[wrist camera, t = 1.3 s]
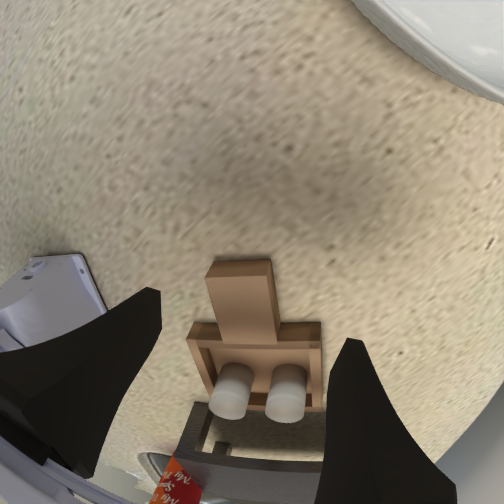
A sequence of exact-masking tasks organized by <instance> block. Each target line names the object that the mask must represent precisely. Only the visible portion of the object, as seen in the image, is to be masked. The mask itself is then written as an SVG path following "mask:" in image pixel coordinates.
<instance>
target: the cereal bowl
mask: <svg viewBox="0 0 504 504" xmlns="http://www.w3.org/2000/svg"><path fill="white" fill-rule="evenodd" d="M351 1H352V2H353V3H354V4H355V6H356V7H357V9H359V10H360V11H361V12H362V14H363V15H364V16H365V17H367V18H368V19H369V20H370V22H371V23H372V24H373V25H374V26H376V27H377V28H378V29H379V31H380V32H381V33H383V34H384V35H386V36H387V38H388V39H389V40H391V41H392V42H394V43H395V44H396V45H397V46H398V47H399V48H401V49H403V50H404V51H405V53H407V54H408V55H410V56H411V57H412V58H413V59H414V60H416V61H418V62H420V63H421V64H422V65H423V66H425V67H426V68H428V69H430V70H431V71H432V72H433V73H435V74H438V75H440V76H441V77H443V78H444V79H445V80H448V81H450V82H451V83H453V84H455V85H458V86H459V87H460V88H462V89H465V90H467V91H468V92H471V93H473V94H476V95H478V96H480V97H484V98H486V99H488V100H490V101H493V102H498V103H500V104H502V105H504V0H351Z"/></svg>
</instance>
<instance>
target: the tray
mask: <svg viewBox="0 0 504 504" xmlns="http://www.w3.org/2000/svg"><path fill="white" fill-rule="evenodd" d="M205 281H206V285H207V289H208V292H209V296H210V299H211V303H212V306H213V310H214V313H215V316H216V320H217V323H194V324H193V326H192V328H191V330H190V332H189V334H188V336H187V338H186V341H187V344H188V346H189V349H190V351H191V354H192V356H193V359H194V361H195V364H196V366H197V369H198V371H199V373H200V376H201V378H202V381H203V383H204V385H205V388H206V390H207V392H208V395H209V397H210V402H209V409H210V410H211V411H212V412H213V413H214V414H216V415H217V416H219V417H222V418H225V419H231V420H236V419H241V418H243V417H244V416H245V413H246V410H263V411H265V414H266V415H267V416H268V417H269V418H270V419H272V420H274V421H277V422H281V423H293V422H297V421H299V420H301V419H302V418H303V416H304V412H322V398H323V380H322V344H321V322H308V323H280V317H279V310H278V303H277V297H276V290H275V283H274V277H273V270H272V264H271V259H263V260H244V261H224V262H213V264H212V265H211V267H210V269H209V271H208V272H207V274H206V276H205Z"/></svg>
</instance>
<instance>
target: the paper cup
mask: <svg viewBox="0 0 504 504" xmlns="http://www.w3.org/2000/svg"><path fill="white" fill-rule="evenodd" d="M174 454H175V452H174V453H173V455H172V457H171V459H170V461H169V463H168V465H167V467H166V469H165V471H164V473H163V475H162V477H161V479H160V481H159V483H158V486H157V488H156V490H155V492H154V494H153V496H152V498H151V500H150V502H149V504H199V502H200V498H201V494H202V490H201V489H200V488H199V486H198V485H197V484H196V483H195V482H194V481H193V480H192V479H191V477H190V476H189V475H188V474H187V473H186V472H185V471H184V469H183V468H182V467H181V466H180V465H179V463H178V462H177V461H176V460H175V459H174V457H173V456H174Z"/></svg>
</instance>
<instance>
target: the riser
mask: <svg viewBox="0 0 504 504" xmlns="http://www.w3.org/2000/svg"><path fill="white" fill-rule="evenodd" d="M213 416H214V413H213V412H212V411H211V410H210V409H209V403H200V402H194V405H193V408H192V410H191V413H190V415H189V418H188V420H187V423H186V426H185V428H184V431H183V433H182V436H181V438H180V441H179V444H178V446H177V449H176V451H175V454H174V456H173V457H174V459H175V460H176V461H177V462H178V463H179V465H180V466H181V467H182V468H183V469H184V471H185V472H186V473H187V474H188V475H189V476H190V477H191V479H192V480H193V481H194V482H195V483H196V484H197V485H198V486H199V488H200V489H201V490H202V491H203V492H204V493H206V494H211V495H217V496H222V497H229V498H236V499H243V500H252V501H261V502H272V503H285V504H314V502H315V498H316V494H317V489H318V485H319V480H320V475H321V470H322V464H323V461H283V460H267V459H255V458H244V457H235V456H230V455H231V451H232V448H231V446H230V444H229V443H222V442H215V445H214V448H213V451H212V453H206V452H202V449H203V446H204V443H205V440H206V437H207V434H208V431H209V428H210V425H211V422H212V419H213Z"/></svg>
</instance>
